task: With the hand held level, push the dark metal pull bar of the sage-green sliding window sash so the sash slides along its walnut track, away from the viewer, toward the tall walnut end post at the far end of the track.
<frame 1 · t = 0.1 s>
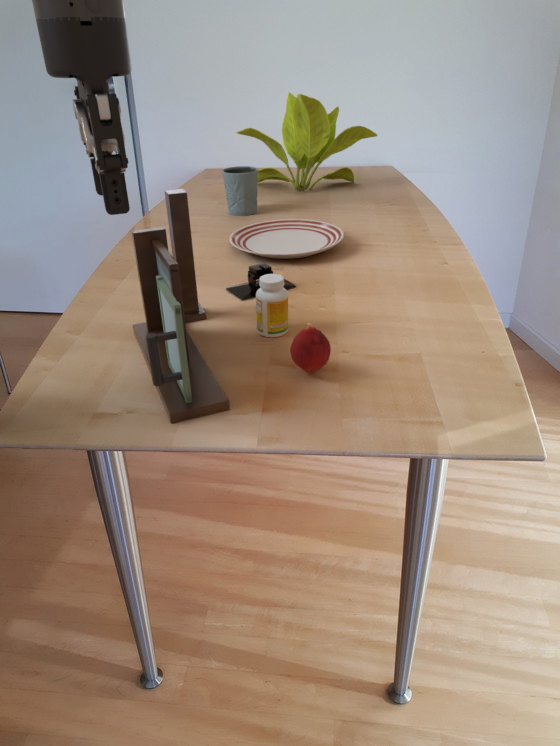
hand: (112, 203, 56), 28 cm above the table, tool pointing down, fingers open, 8 cm apart
dinner plate: (286, 247, 132), on the table
embossed green cup: (242, 212, 161), on the table
window frame: (162, 338, 91), on the table
artificial plant: (306, 187, 189), on the table
supplement bottle: (272, 332, 93), on the table
window sash: (160, 341, 72), point 9 cm above the table, slide at 0.0 cm
end post: (189, 315, 99), on the table
onion: (310, 373, 81), on the table
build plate: (261, 289, 110), on the table
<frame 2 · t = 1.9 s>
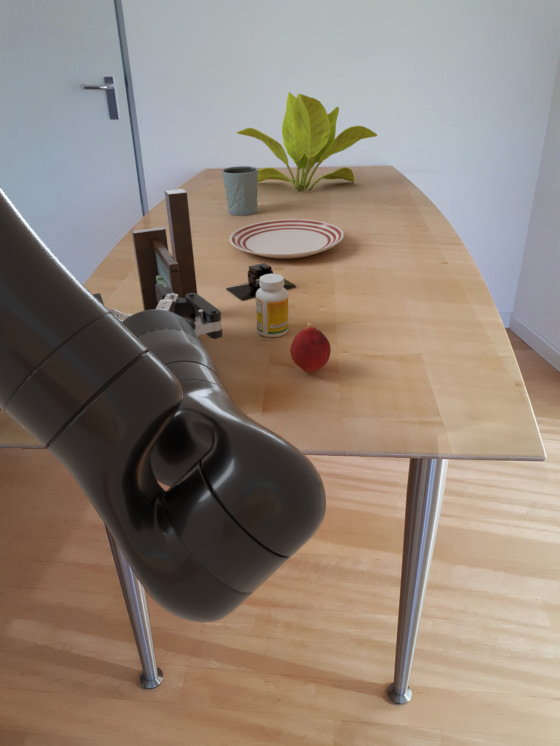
hand: (129, 297, 55), 20 cm above the table, tool horizontal, fingers open, 5 cm apart
nothing on the table moved.
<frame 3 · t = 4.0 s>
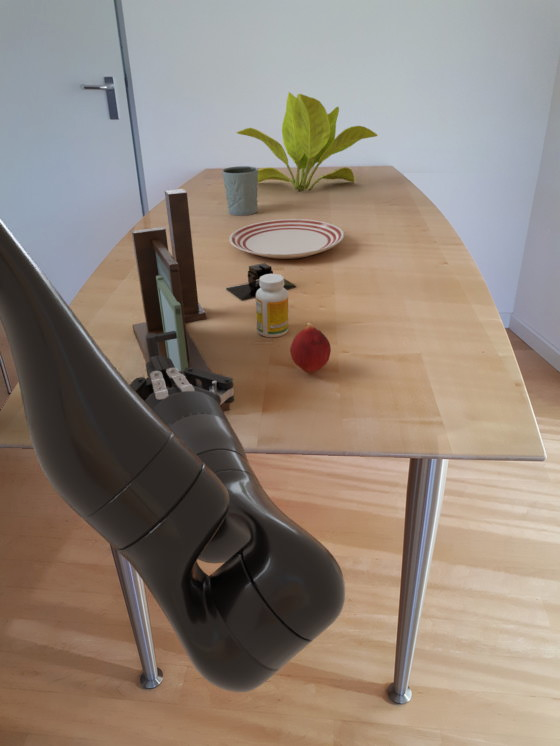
hand: (157, 363, 61), 11 cm above the table, tool horizontal, fingers closed
nothing on the table moved.
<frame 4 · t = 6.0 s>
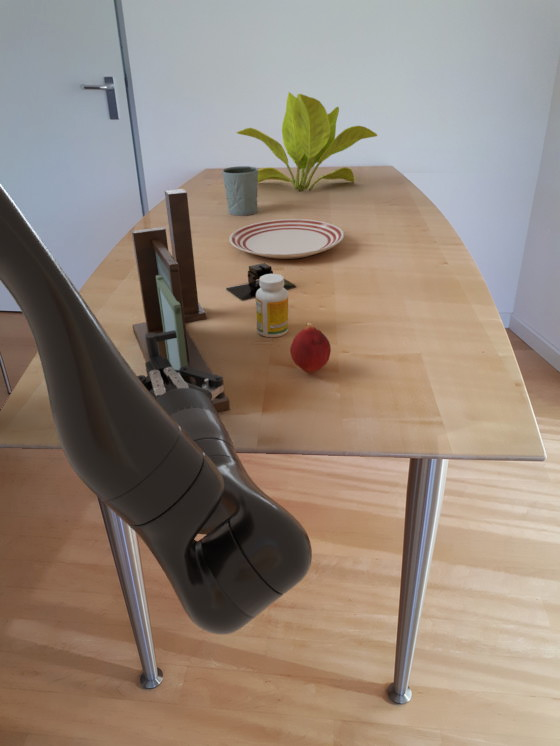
hand: (155, 362, 68), 8 cm above the table, tool horizontal, fingers closed
window sash: (159, 340, 72), point 9 cm above the table, slide at 0.1 cm, touching gripper
everything else where it was.
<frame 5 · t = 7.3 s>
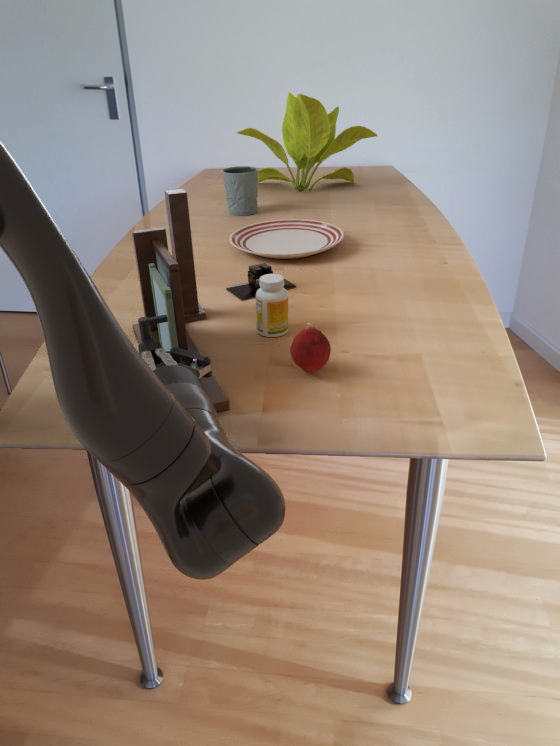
hand: (147, 345, 72), 8 cm above the table, tool horizontal, fingers closed
window sash: (152, 325, 76), point 9 cm above the table, slide at 5.3 cm, touching gripper
everything else where it was.
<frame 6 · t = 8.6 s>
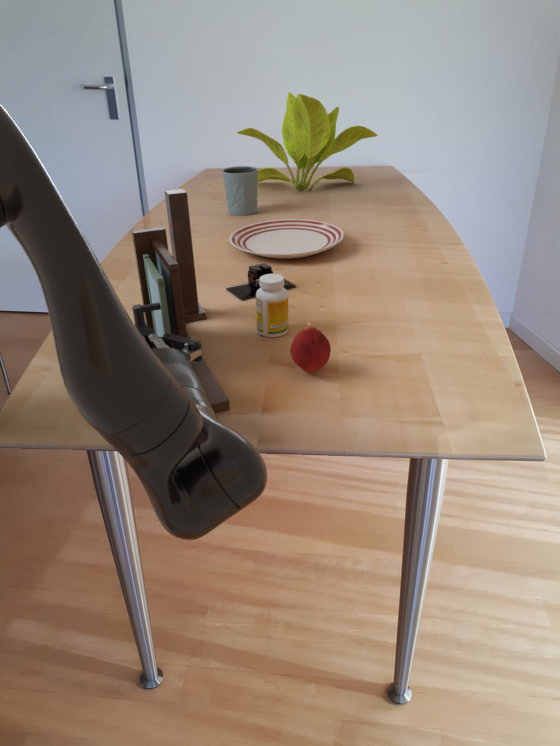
hand: (141, 331, 76), 8 cm above the table, tool horizontal, fingers closed
window sash: (146, 313, 80), point 9 cm above the table, slide at 9.7 cm, touching gripper
everything else where it was.
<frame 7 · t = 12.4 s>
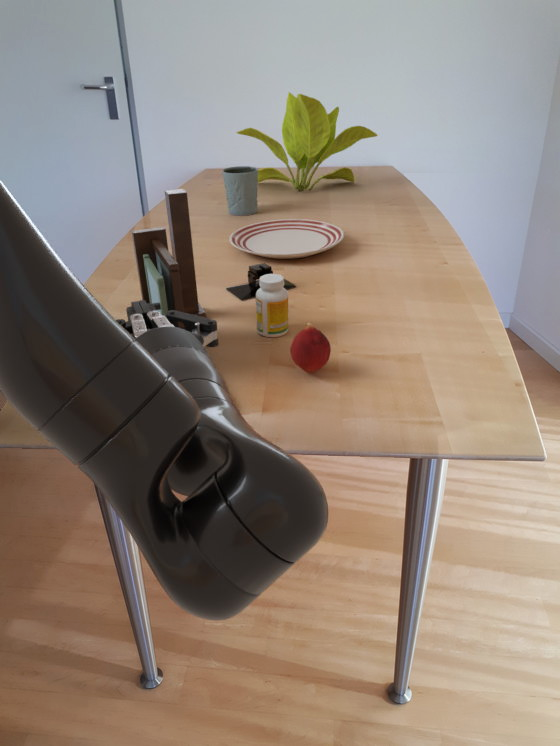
hand: (138, 309, 59), 18 cm above the table, tool horizontal, fingers closed
window sash: (146, 313, 80), point 9 cm above the table, slide at 9.7 cm
everything else where it was.
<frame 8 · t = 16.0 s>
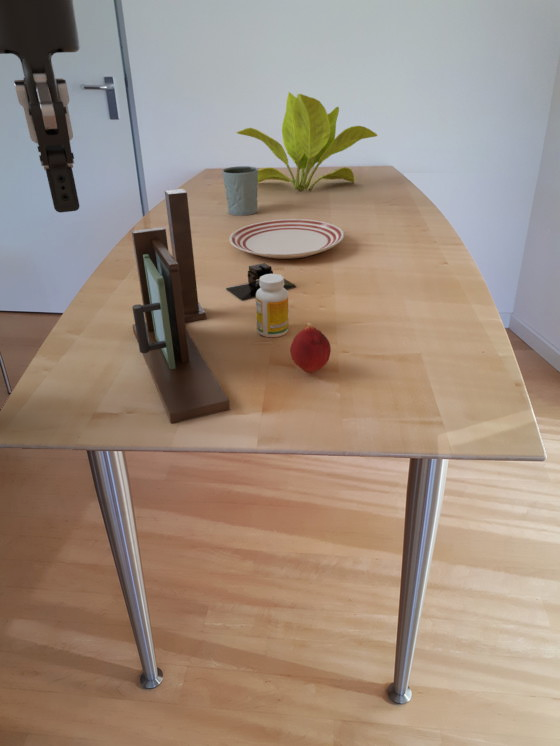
hand: (67, 209, 51), 29 cm above the table, tool pointing down, fingers closed
nothing on the table moved.
at the end: window sash slide at 9.7 cm; window sash 1.2 cm from the target spot on the table beside the end post, resting on window frame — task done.
